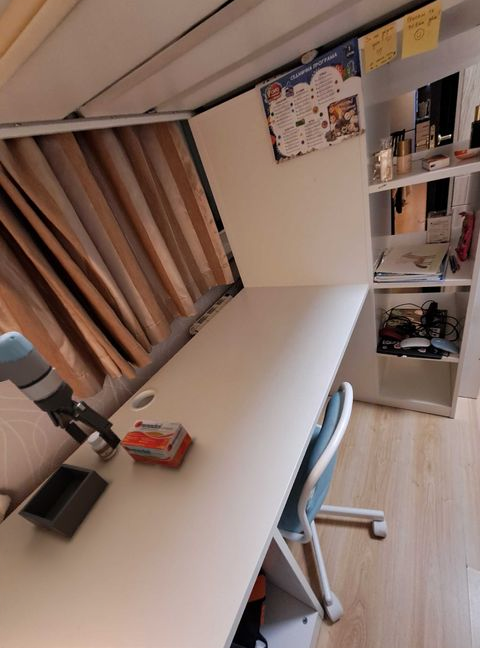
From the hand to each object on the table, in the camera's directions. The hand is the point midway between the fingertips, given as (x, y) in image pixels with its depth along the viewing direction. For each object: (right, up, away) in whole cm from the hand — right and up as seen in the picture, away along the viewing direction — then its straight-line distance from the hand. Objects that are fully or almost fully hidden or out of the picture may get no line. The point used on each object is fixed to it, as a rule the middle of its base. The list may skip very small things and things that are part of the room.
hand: (99, 442), depth 80 cm
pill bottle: (+1, -4, +3) cm, 5 cm away
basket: (-2, -12, -8) cm, 15 cm away
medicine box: (+19, -2, -2) cm, 19 cm away
